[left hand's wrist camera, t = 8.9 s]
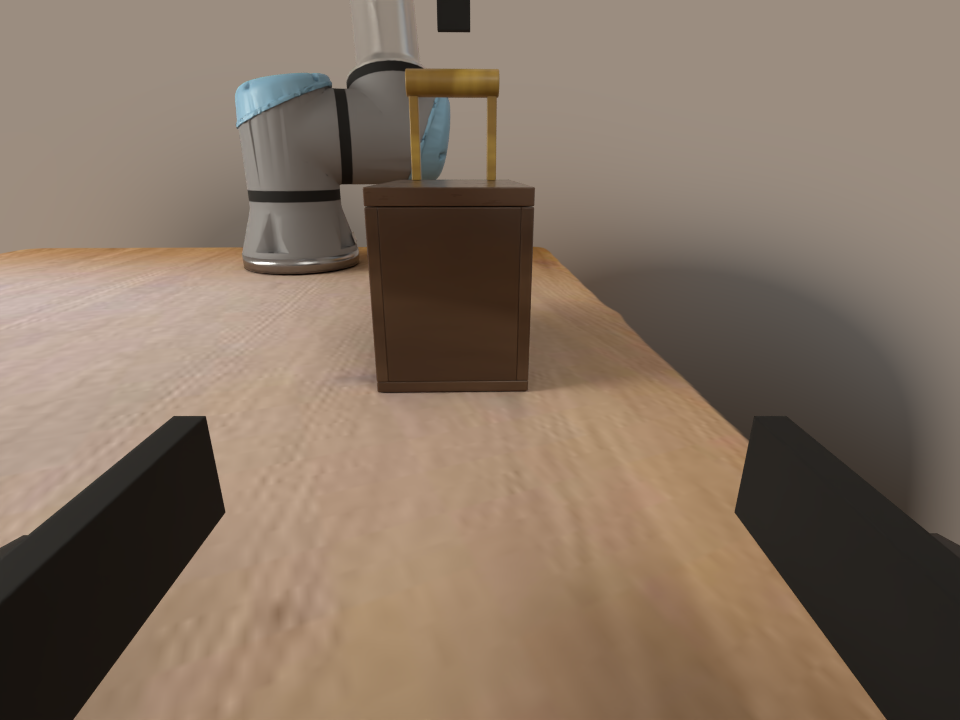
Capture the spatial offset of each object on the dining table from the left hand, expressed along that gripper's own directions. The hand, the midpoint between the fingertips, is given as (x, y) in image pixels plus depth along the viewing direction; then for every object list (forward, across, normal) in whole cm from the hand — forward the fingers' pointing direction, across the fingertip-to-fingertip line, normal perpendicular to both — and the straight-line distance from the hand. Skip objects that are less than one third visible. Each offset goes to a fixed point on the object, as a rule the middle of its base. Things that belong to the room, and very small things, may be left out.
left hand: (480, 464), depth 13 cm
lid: (+27, -2, +5) cm, 27 cm away
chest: (+26, -2, -6) cm, 27 cm away
